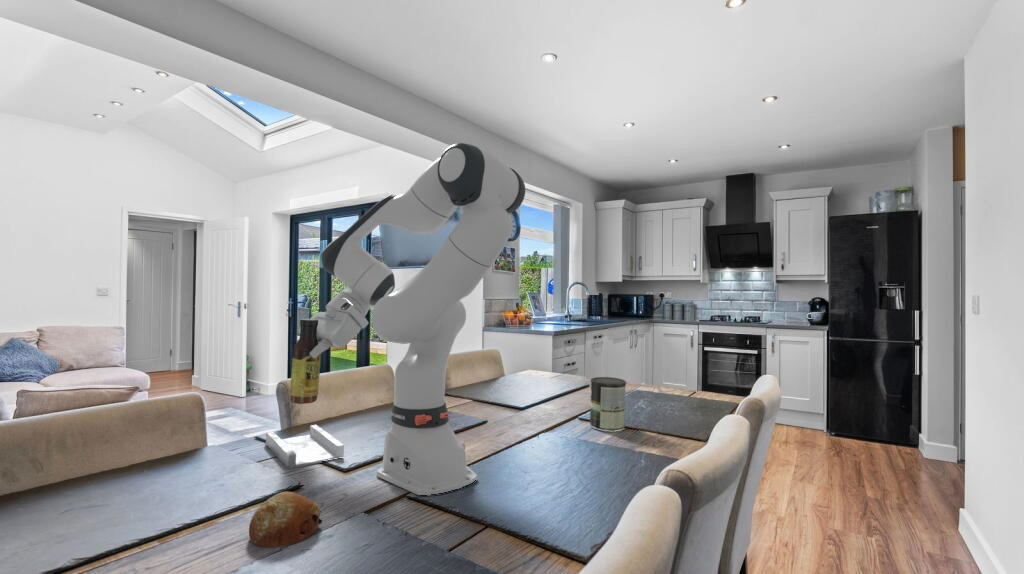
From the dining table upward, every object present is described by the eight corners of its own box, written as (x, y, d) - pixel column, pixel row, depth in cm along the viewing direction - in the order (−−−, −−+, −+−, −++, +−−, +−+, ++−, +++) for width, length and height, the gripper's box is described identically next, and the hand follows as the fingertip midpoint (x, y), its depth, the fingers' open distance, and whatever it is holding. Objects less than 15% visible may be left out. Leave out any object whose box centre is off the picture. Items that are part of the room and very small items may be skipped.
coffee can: (583, 427, 140) (584, 380, 140) (598, 420, 149) (599, 375, 149) (616, 434, 134) (617, 385, 134) (630, 427, 143) (631, 380, 143)
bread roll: (277, 538, 81) (258, 496, 81) (333, 512, 82) (314, 470, 82) (250, 573, 72) (228, 525, 71) (315, 542, 72) (293, 495, 72)
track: (343, 457, 110) (343, 444, 110) (288, 469, 102) (288, 455, 102) (315, 435, 125) (316, 424, 125) (265, 444, 118) (266, 432, 118)
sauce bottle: (307, 406, 110) (311, 321, 110) (283, 403, 112) (287, 319, 111) (323, 399, 117) (327, 319, 116) (301, 396, 118) (305, 317, 118)
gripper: (317, 302, 126) (277, 340, 119) (356, 306, 112) (313, 350, 105) (332, 318, 130) (295, 357, 122) (372, 324, 116) (332, 368, 108)
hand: (304, 354), depth 114 cm, fingers closed on sauce bottle, 6 cm apart
